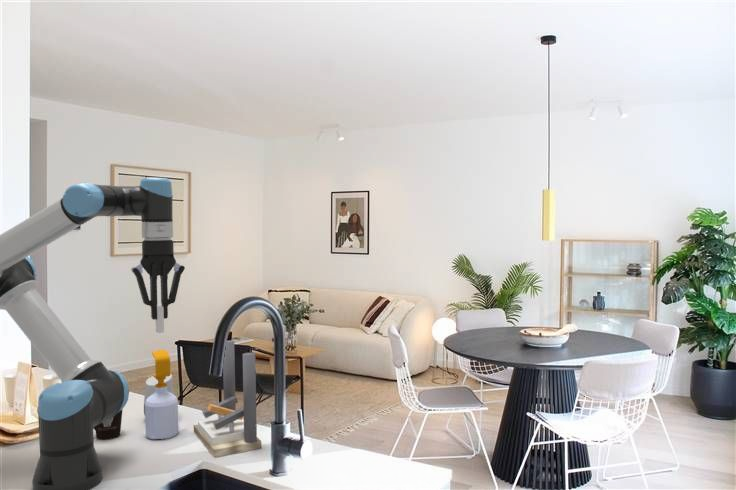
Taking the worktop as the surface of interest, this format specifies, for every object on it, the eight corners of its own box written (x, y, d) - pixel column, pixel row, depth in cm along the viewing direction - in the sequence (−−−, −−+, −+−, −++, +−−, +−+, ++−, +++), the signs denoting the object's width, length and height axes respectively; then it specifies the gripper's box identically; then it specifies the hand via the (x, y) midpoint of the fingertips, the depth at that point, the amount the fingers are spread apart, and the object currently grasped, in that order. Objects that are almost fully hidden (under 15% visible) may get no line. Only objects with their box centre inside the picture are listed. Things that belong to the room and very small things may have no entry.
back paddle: (206, 418, 176) (204, 413, 175) (203, 415, 178) (202, 411, 178) (238, 402, 180) (236, 397, 180) (235, 400, 182) (233, 395, 182)
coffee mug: (129, 430, 182) (128, 397, 182) (115, 441, 174) (113, 406, 173) (92, 429, 183) (91, 396, 183) (76, 440, 175) (74, 406, 174)
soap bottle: (173, 427, 185) (171, 346, 184) (182, 436, 178) (180, 352, 176) (142, 433, 180) (140, 350, 179) (150, 442, 173) (147, 356, 171)
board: (214, 457, 162) (214, 449, 162) (193, 431, 181) (193, 425, 181) (261, 447, 168) (261, 440, 168) (236, 424, 187) (236, 417, 187)
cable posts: (246, 443, 166) (244, 356, 165) (222, 419, 185) (221, 341, 184) (258, 441, 168) (257, 354, 166) (233, 417, 187) (232, 340, 186)
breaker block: (212, 445, 165) (211, 427, 165) (198, 428, 178) (197, 411, 178) (255, 437, 171) (254, 419, 171) (238, 421, 184) (238, 405, 184)
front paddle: (216, 429, 166) (214, 424, 166) (214, 427, 168) (212, 422, 168) (250, 412, 171) (248, 407, 170) (247, 410, 173) (245, 405, 173)
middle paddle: (209, 411, 171) (211, 405, 171) (207, 409, 173) (209, 403, 173) (241, 420, 175) (243, 414, 176) (239, 417, 177) (241, 412, 178)
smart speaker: (137, 421, 191) (136, 377, 190) (161, 413, 199) (160, 370, 198) (158, 426, 186) (156, 381, 185) (181, 417, 194) (180, 374, 193)
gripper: (132, 240, 148) (135, 337, 150) (187, 239, 155) (189, 331, 156) (128, 239, 155) (130, 331, 156) (180, 238, 161) (182, 326, 163)
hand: (159, 331), depth 156 cm, fingers closed
